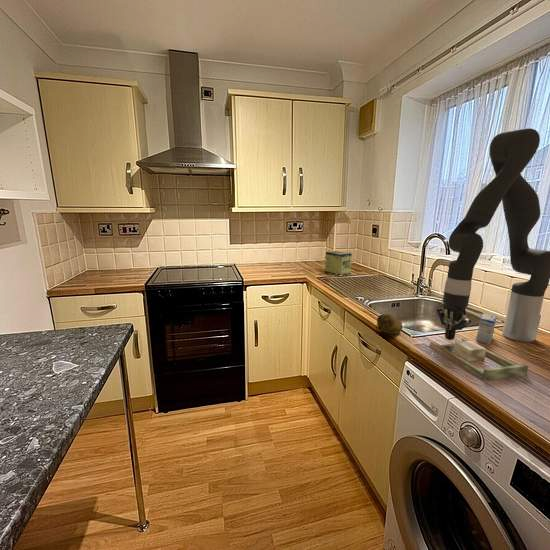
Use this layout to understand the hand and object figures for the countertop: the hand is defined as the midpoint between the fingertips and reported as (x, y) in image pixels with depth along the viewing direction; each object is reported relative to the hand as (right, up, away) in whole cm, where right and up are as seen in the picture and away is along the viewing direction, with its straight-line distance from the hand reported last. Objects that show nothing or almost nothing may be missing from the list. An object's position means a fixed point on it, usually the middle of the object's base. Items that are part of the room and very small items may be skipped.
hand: (449, 338), depth 104 cm
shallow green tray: (+2, -4, -9) cm, 11 cm away
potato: (-17, 0, +10) cm, 20 cm away
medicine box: (+16, -1, +6) cm, 18 cm away
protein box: (-16, +23, +111) cm, 114 cm away
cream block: (+2, -4, -7) cm, 9 cm away
